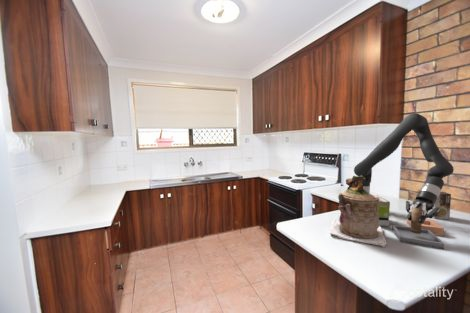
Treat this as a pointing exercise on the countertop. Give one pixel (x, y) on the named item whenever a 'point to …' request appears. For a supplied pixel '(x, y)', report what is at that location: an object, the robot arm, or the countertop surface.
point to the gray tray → (417, 237)
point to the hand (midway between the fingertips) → (414, 221)
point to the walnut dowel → (416, 220)
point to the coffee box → (443, 206)
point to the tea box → (383, 211)
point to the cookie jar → (358, 215)
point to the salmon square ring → (430, 227)
